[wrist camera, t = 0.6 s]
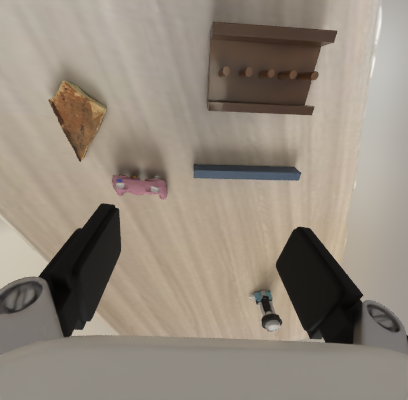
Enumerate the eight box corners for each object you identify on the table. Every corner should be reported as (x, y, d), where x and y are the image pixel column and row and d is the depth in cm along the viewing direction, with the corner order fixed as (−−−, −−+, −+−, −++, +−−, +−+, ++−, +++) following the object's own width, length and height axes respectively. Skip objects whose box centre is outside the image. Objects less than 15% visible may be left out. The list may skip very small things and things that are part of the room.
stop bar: (193, 164, 38) (193, 170, 35) (294, 167, 39) (301, 172, 36) (193, 171, 38) (193, 178, 36) (292, 174, 40) (298, 180, 37)
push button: (248, 299, 61) (257, 334, 53) (249, 289, 58) (258, 324, 50) (270, 297, 61) (282, 332, 52) (271, 286, 58) (284, 321, 50)
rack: (210, 29, 27) (214, 18, 23) (319, 37, 28) (344, 28, 24) (207, 107, 33) (209, 111, 28) (299, 111, 34) (316, 116, 29)
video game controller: (169, 178, 40) (166, 176, 33) (167, 199, 41) (164, 202, 34) (120, 172, 39) (106, 169, 32) (118, 195, 40) (104, 197, 33)
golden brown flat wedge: (84, 159, 36) (79, 162, 35) (40, 132, 33) (32, 135, 32) (110, 109, 32) (106, 111, 31) (63, 74, 29) (55, 74, 28)
